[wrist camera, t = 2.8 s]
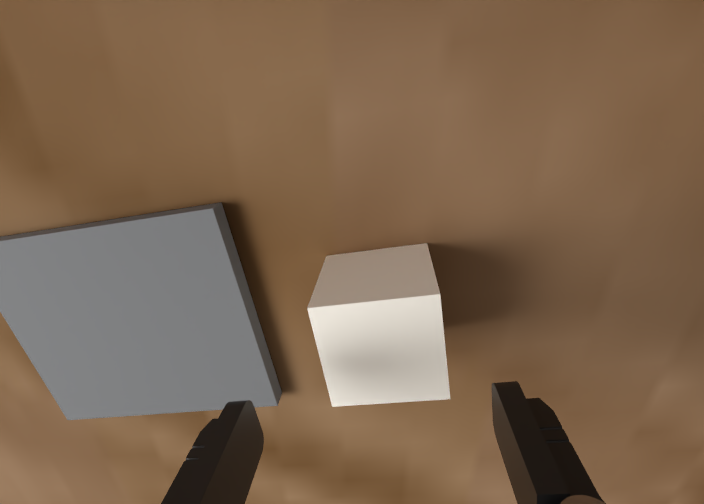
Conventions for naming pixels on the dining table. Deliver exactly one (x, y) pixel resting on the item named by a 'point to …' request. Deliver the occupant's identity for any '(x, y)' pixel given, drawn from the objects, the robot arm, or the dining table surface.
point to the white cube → (380, 327)
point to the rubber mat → (138, 315)
